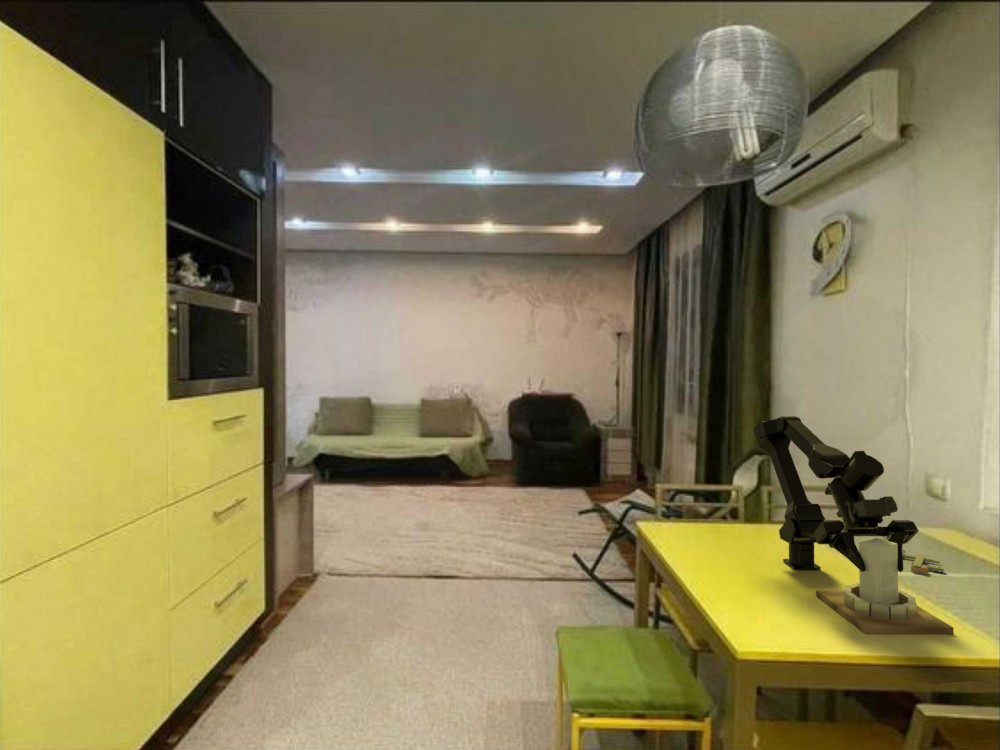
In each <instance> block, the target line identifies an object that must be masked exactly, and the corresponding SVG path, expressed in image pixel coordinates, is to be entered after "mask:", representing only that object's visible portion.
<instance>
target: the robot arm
mask: <svg viewBox="0 0 1000 750" xmlns="http://www.w3.org/2000/svg"><path fill="white" fill-rule="evenodd" d="M753 435H754V437H755V439H756V441H757V443H758V445H759V447H760V448H761V449H763V450H764V452H766V453H767V454H769V457H770V459H771V463H772V465H773V466H772V467H773V468H774V471H775V475H776V476H777V480H778V483H779V486H780V488H781V491H782V494H783V496H784V499H785V502H786V509H785V513H784V521H785V522H784V523H783V525H782V526H781V527H780V528H779V530H778V533H779V539H780V540H782V541H784V542H786V543H788V558H783V559H782V561H783V562H784V563H785V564H787V565H788V566H789V567H790V568H792V569H793V570H821V568H822V567H821V566H820V565H818V564H817V563H815V543H816V544H817V545H829V548H832V549H835V551H837V552H838V553H840V554H841V555H842V556H844V557H845V558H846V559H847V560H848V561H850V562H851V564H853V565H854V566H855V567H856V568H857V569H858V570H861V571H862V572H865V571H866V568H865V565H864V562H863V560H862V558H861V555H860V553H859V548H858V547H857V545H856V541H855V537H882V538H883V540H886V541H890V542H893V543H897V544H898V573H902V572H903V571H904V561H903V560H904V559H903V556H902V550H903V545H905V544H908V543H909V542H910V541H911V540H912V539H914V537H915V536H916V535H917V533H919V528H918V527H917V525H916V523H915V522H913V521H912V520H910V519H892V520H891V521H890V522H889V524H888V525H887V526H879V524H882V523H883V522H884V517H886V516H888V517H890V516H892V514H894V513H897V512H898V510H899V509H898V508H899V507H898V505H897V502H896V501H895V499H894V498H893V496H891V495H889V496H882V497H880V498H879V499H866V498H865V496H864V493H863V492H865V491H868V490H869V489H870V488H871V487H872V486H873V485H874V483H876V481H878V479H880V478H881V476H882V475H883V474H884V472H885V469H884V465H883V464H882V463H881V461H879V460H878V459H876V458H875V457H873V456H871V455H868V454H867V453H866V451H865V450H855V451H854V452H853V453H851V456H850V457H849V455H847V454H846V453H845V452H843V451H841V450H840V449H838V448H835V447H833V446H829V445H827V444H826V443H824V442H823V441H822V440H821V439H820V438H819V437H818V436H817V435H815V433H813V431H811V429H809V428H808V427H807V426H806V425H805V424H804V423H803V421H802V420H801V418H800V417H799V416H796V415H790V416H787V415H785V416H780V417H777V418H774V419H771V420H762V421H761V420H760V421H759V422H757V423H756V425H755V426H754V428H753ZM791 442H792V443H793V444H794V445H795V446H796V447H797V448H798V449H799V450H800V451H801V452H802V453H803V455H805V456H806V458H807V459H808V463H807V465H808V467H809V468H810V470H811V472H813V474H814V475H815V476H816V478H817V479H822V480H823V479H832V480H831V482H828V483H827V486H826V488H825V490H824V494H825V495H826V496H832V498H833V501H834V502H835V505H836V507H837V512H836V516H837V518H841V519H842V520H840V519H839V520H838V519H836V520H833V519H830V520H829V519H826V518H825V516H824V514H823V511H822V508H821V506H820V505H819V504H818V503H812V502H811V501H810V500H809V499H808V496H807V494H806V491H805V489H804V486H803V483H802V480H801V478H800V475H799V473H798V470H797V468H796V464H795V462H794V459H793V457H792V454H791V451H790V445H791Z"/></svg>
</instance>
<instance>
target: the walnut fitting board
mask: <svg viewBox="0 0 1000 750" xmlns="http://www.w3.org/2000/svg"><path fill="white" fill-rule="evenodd" d="M815 596H816V597H817V598H818V599H820V600H821V601H823V602H824V603H825V604H826V605H828V606H829V607H830V608H831V609H833V610H834V611H835V612H837V613H838V614H839V615H840V616H842V617H843V618H844V619H846V620H847V621H848V622H849V623H851V624H852V625H853V626H855V627H856V628H857V629H859V630H860V631H861V632H863V633H864V635H865V634H866V635H867V634H869V635H870V634H872V635H876V634H877V635H880V634H881V635H897V634H899V635H900V634H902V635H905V634H906V635H954V634H955V633H954V627H953V626H952V625H951V624H949V623H947V622H945V621H944V620H942V619H941V618H938V617H937V616H935V615H933V614H931V613H930V612H928V610H925V609H923V608H922V607H920V606H919V605H917V604H916V617H915V618H912V619H910V620H890V619H889V620H886V619H880V618H875V617H871V616H867V615H864V614H861V613H859V612H856V611H854V610H852V609H851V608H849V607H848V606H846V605H845V604H844V589H816V590H815ZM889 605H899V604H896V603H892V604H889Z"/></svg>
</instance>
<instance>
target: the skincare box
mask: <svg viewBox="0 0 1000 750" xmlns="http://www.w3.org/2000/svg"><path fill="white" fill-rule="evenodd" d="M858 546H859V547H858V551H859V553H860V555H861V558H862V560H863V562H864V565H865V568H866V571H865V572H862V571H861V570H859V569H858V570H859V584H860V598H862V599H864V600H867V601H870V602H875V603H880V604H886V605H889V604H892V603H896V602H898V590H899V571H898V544H897V543H893V542H890V541H886V540H884V538H883V539H882V538H878V537H877V538H876V537H875V538H873V539H869V540H864V541H859V542H858Z"/></svg>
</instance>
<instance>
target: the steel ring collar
mask: <svg viewBox="0 0 1000 750" xmlns="http://www.w3.org/2000/svg"><path fill="white" fill-rule="evenodd" d="M843 590H844V604H845V605H846V606H848V607H849V608H851V609H852V610H854V611H856V612H859V613H861V614H864V615H867V616H871V617H875V618H880V619H886V620H889V619H890V620H910V619H912V618H915V617H916V605H917V600H916V597H914V596H912V595H911V594H909V593H907V592H905V591H903V590H900V589H898V602H896V604H899V605H886V604H880V603H875V602H870V601H867V600H864V599H862V598H860V583H853V584H848V585H846V586H844V589H843Z"/></svg>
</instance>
